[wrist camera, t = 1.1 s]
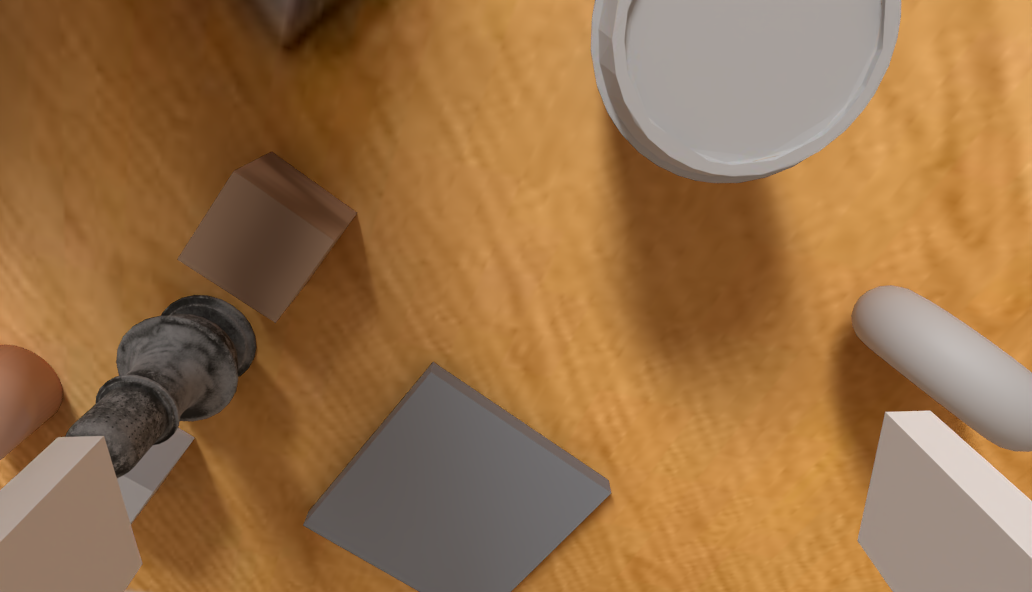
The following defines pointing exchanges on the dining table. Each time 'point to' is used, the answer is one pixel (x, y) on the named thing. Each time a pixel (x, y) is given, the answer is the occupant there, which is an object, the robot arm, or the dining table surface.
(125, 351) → the salt shaker
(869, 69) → the disposable coffee cup
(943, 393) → the donut
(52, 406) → the peach rounded capsule
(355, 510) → the slate board
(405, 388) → the dining table surface
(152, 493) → the grey block
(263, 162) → the walnut block
